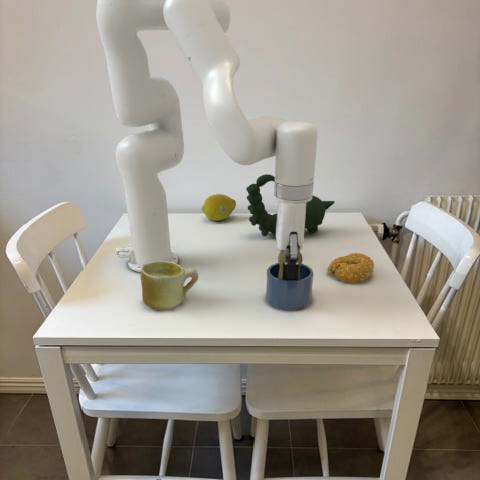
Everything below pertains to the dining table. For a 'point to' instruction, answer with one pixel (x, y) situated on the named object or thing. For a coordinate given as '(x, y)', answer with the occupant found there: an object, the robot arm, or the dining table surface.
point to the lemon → (218, 207)
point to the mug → (165, 284)
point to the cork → (282, 260)
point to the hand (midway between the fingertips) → (288, 272)
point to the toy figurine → (268, 221)
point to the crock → (289, 289)
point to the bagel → (352, 267)
